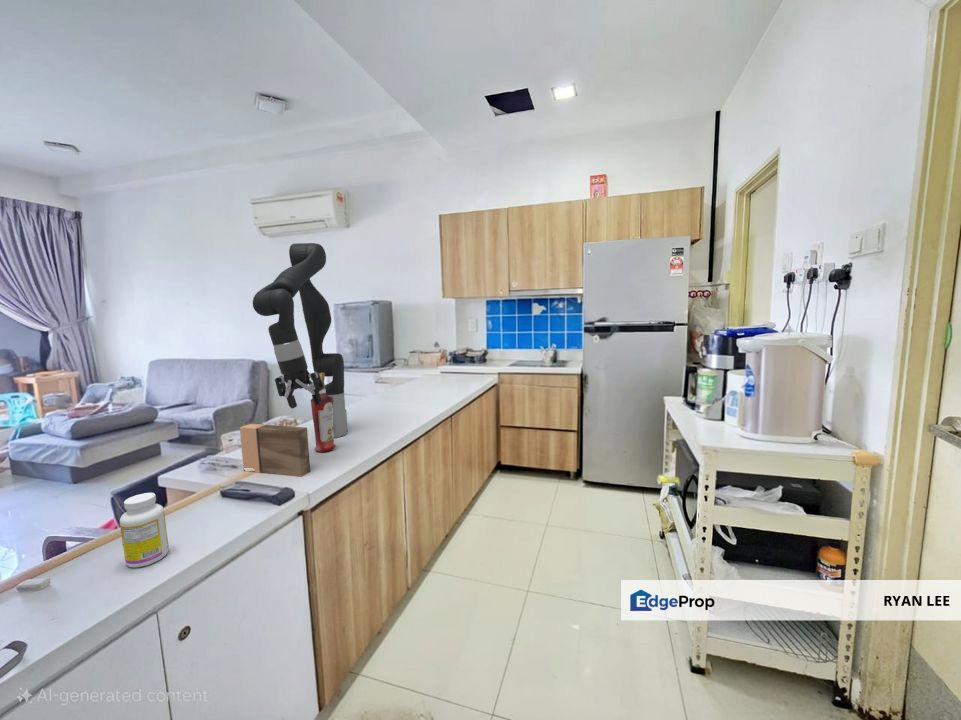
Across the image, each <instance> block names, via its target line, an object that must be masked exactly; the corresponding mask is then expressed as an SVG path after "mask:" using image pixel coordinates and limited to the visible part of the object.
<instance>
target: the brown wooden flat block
mask: <svg viewBox="0 0 961 720" xmlns="http://www.w3.org/2000/svg"><path fill="white" fill-rule="evenodd" d="M265 425H266V426H263V427H260V428H257V439H258V450H259V461H260V474H267V475H277V476H286V477H287V476H288V477H289V476H290V477H296V478H302V477H304V476H305V475H307V474H309V473H310V472H311V465H310V464H311V463H310V462H311V461H310V452H309V451H310V450H309V436H308V435H309V434H308V427H306V426H305V427H304V426H289V425H288V426H287V425H274V424H273V425H271V424H265Z"/></svg>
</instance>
